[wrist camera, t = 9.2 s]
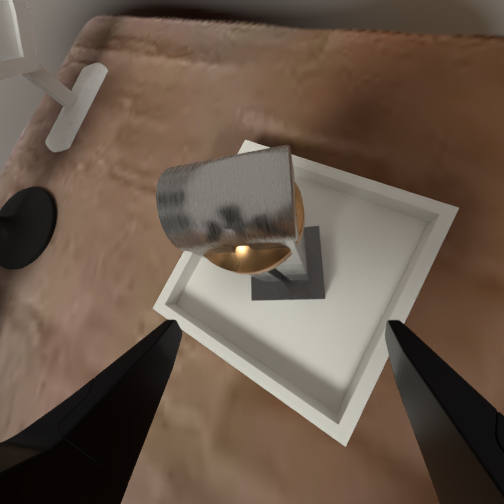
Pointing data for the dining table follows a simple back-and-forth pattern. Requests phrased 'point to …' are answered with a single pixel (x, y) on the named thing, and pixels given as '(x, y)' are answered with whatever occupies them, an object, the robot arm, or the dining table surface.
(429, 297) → the dining table surface
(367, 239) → the ceramic tray
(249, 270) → the silver cylinder with base
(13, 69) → the heart sculpture
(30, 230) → the wine glass
